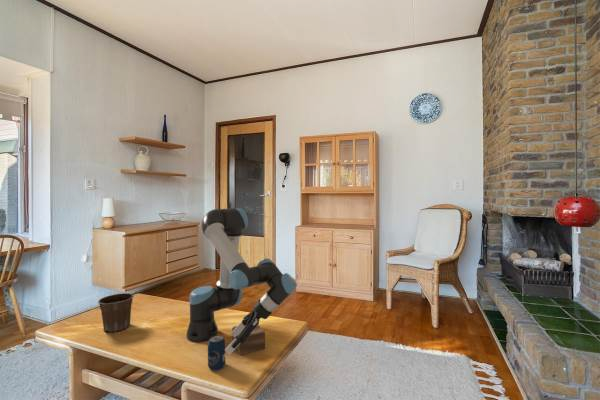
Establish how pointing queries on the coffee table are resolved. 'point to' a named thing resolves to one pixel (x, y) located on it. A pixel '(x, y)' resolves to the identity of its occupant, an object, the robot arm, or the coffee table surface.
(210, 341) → the soda can
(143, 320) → the coffee table surface
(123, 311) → the plant pot
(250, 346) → the block
